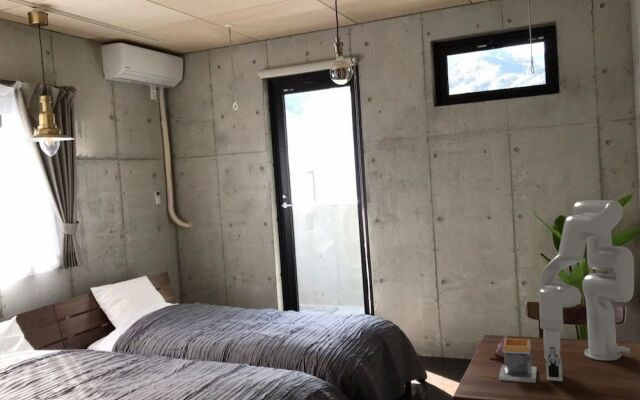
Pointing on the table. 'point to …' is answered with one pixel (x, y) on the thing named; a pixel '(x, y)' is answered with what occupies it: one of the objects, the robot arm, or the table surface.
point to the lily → (500, 345)
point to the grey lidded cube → (559, 370)
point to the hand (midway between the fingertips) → (553, 372)
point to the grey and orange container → (517, 361)
